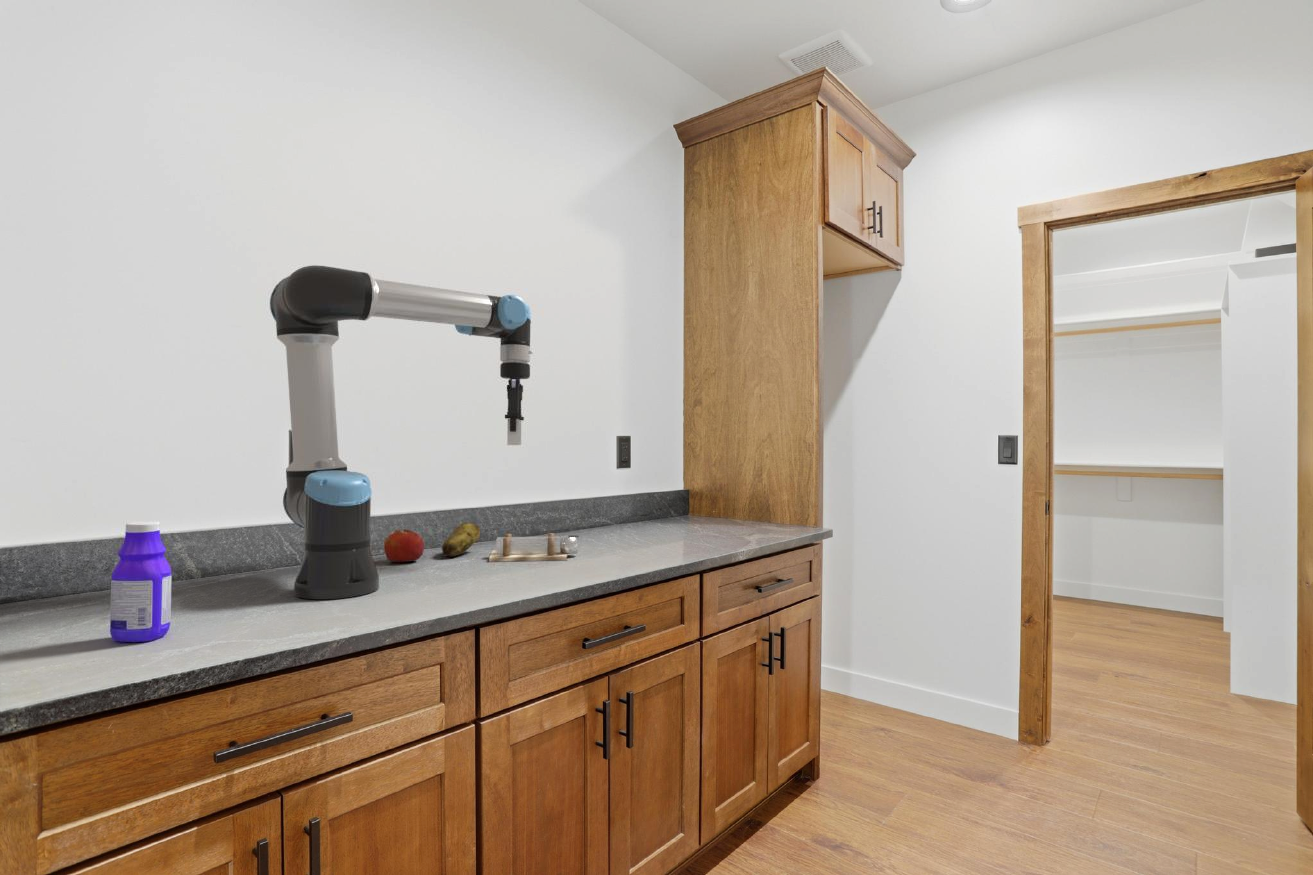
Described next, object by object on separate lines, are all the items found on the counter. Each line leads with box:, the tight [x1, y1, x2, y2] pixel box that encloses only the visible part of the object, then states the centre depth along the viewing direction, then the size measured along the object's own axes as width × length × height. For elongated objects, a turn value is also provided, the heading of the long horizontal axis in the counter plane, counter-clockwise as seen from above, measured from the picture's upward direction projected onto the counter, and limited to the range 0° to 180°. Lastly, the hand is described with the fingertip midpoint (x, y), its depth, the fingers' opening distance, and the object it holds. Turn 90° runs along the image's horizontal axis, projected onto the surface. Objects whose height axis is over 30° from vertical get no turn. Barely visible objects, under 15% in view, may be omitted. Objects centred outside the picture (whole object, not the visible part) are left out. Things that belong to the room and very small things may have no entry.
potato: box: [441, 522, 481, 558], centre depth 173 cm, size 8×13×8 cm, turn 147°
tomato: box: [383, 529, 425, 563], centre depth 163 cm, size 9×9×8 cm
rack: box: [488, 532, 568, 563], centre depth 170 cm, size 19×11×6 cm, turn 99°
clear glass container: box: [495, 534, 579, 555], centre depth 171 cm, size 21×5×4 cm, turn 99°
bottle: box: [109, 520, 172, 643], centre depth 99 cm, size 7×6×17 cm
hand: (514, 445), depth 172 cm, fingers open, 13 cm apart
